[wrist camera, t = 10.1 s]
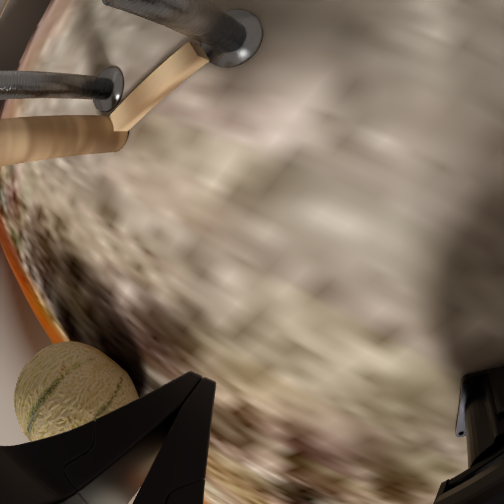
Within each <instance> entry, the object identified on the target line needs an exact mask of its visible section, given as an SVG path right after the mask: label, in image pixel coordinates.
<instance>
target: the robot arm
mask: <svg viewBox="0 0 504 504" xmlns="http://www.w3.org/2000/svg"><path fill="white" fill-rule="evenodd" d="M468 380H470V381H469V382H467V381H468ZM215 390H216V382H215V381H213V380H211V379H208V378H206V377H204V378H203V377H202V376H201V375H199V374H197V373H195V372H192V371H190V372H187V373H185V374H184V375H182V376H180V377H178V378H176V379H174V380H172V381H171V382H169V383H167V384H165V385H163V386H161V387H159V388H157V389H155V390H154V391H152V392H150V393H148V394H146V395H144V396H142V397H140V398H138V399H136V400H134V401H132V402H130V403H128V404H126V405H124V406H122V407H120V408H118V409H116V410H114V411H112V412H110V413H108V414H105V415H103V416H101V417H99V418H97V419H96V420H92V421H90V422H88V423H86V424H84V425H81V426H79V427H77V428H74V429H72V430H69V431H66V432H63V433H60V434H57V435H54V436H50V437H47V438H43V439H39V440H35V441H32V442H28V443H24V444H20V445H14V446H0V504H128V503H129V501H130V500H131V499H132V497H133V496H134V495H135V494H136V492H137V491H138V490H139V489H140V490H139V492H138V494H137V496H136V498H135V500H134V502H133V504H203V498H204V486H205V475H206V466H207V457H208V449H209V440H210V431H211V423H212V414H213V406H214V398H215ZM461 431H462V432H461ZM455 432H456V436H457V437H464V436H466V438H467V451H468V469H467V470H466V471H464V472H462V473H461V474H459V475H457V476H455V477H454V478H452V479H450V480H449V479H448V480H446V481H444V482H443V483H441V485H440V488H439V491H438V493H437V496H436V498H435V501H434V503H433V504H504V366H502V367H498V368H494V369H490V370H485V371H480V372H476V373H471V374H467V375H465V376H464V377H463V378H462V382H461V393H460V402H459V410H458V417H457V424H456V430H455ZM140 487H141V488H140Z"/></svg>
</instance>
